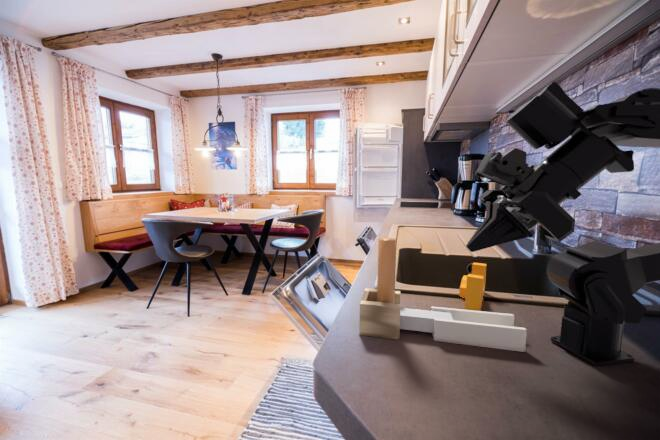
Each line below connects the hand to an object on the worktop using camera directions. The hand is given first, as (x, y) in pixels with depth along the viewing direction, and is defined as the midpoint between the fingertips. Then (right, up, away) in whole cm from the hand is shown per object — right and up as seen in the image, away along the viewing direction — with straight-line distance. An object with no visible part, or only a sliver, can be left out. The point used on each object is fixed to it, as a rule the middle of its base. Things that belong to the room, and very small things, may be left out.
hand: (468, 249), depth 43 cm
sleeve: (+1, -14, +1) cm, 14 cm away
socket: (-12, -13, +5) cm, 19 cm away
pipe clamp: (+8, -12, +16) cm, 22 cm away
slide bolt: (-8, -13, +3) cm, 15 cm away
